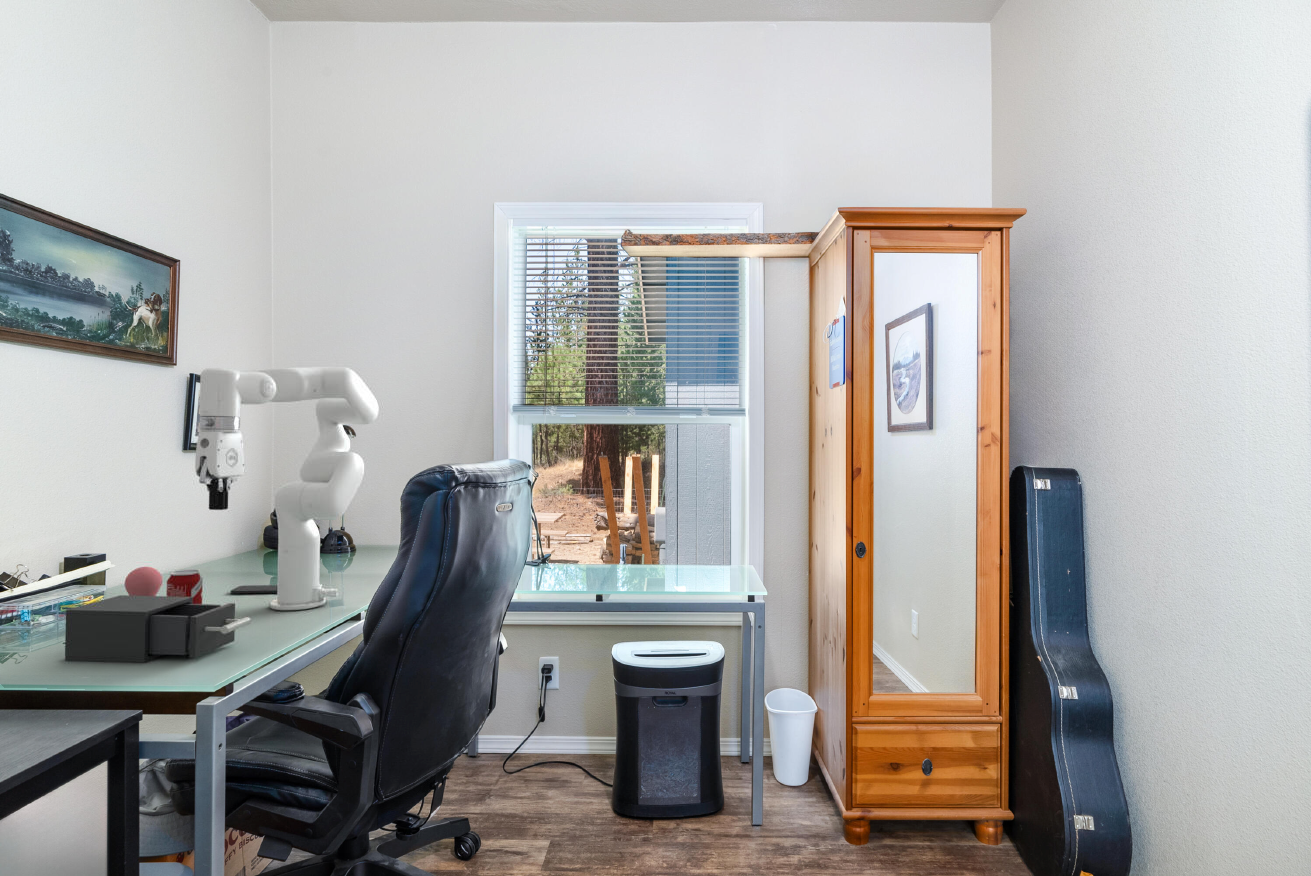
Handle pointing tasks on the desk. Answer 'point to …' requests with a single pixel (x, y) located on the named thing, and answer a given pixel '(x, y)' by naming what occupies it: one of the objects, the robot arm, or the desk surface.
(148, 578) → the light bulb
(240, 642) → the desk surface
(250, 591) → the phone
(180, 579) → the soda can
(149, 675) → the desk surface
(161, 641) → the drawer
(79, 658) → the cabinet
